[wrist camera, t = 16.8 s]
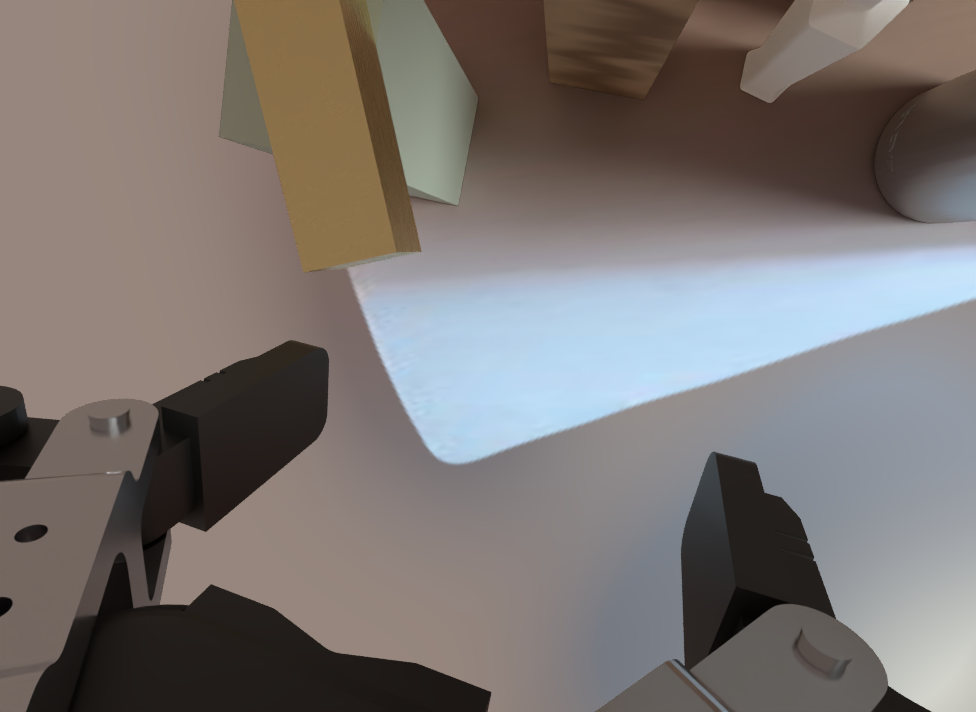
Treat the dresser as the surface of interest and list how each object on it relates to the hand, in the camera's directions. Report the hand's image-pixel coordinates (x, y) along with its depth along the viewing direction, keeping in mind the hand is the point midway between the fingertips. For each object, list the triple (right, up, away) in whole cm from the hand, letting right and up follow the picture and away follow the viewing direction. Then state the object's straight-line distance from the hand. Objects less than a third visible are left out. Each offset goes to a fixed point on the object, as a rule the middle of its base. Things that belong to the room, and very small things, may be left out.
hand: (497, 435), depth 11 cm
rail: (-6, +13, +10) cm, 18 cm away
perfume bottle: (+20, +21, +28) cm, 40 cm away
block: (-5, +18, +32) cm, 37 cm away
